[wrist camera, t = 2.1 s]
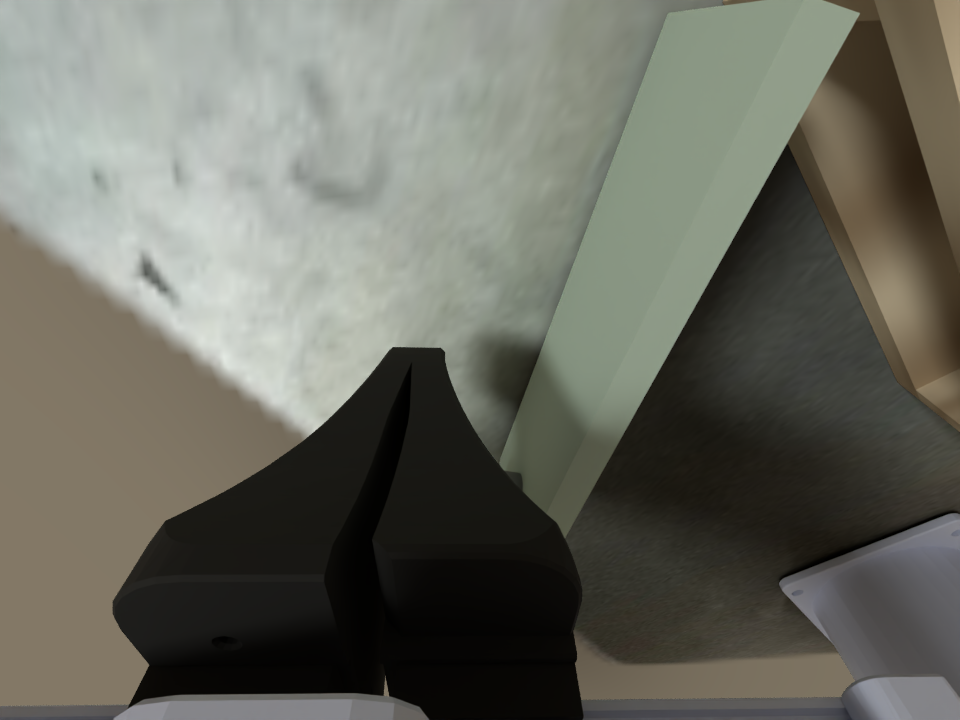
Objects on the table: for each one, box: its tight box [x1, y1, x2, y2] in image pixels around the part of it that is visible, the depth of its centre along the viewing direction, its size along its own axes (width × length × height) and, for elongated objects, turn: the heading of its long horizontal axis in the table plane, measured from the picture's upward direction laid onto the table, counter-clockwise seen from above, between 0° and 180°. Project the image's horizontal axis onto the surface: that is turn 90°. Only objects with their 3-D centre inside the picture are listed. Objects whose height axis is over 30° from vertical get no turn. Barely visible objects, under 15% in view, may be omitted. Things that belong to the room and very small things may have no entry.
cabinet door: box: [500, 0, 860, 538], centre depth 12 cm, size 14×2×5 cm, turn 166°
